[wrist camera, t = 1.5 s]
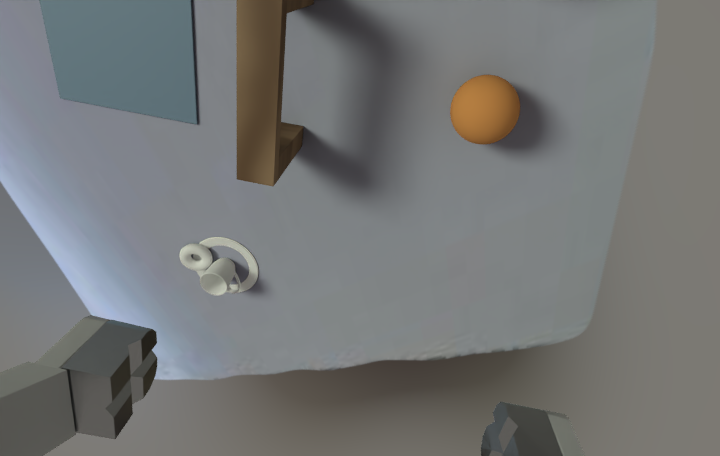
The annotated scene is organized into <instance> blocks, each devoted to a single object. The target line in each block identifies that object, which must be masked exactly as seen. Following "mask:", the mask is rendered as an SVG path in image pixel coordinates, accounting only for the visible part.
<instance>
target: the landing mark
mask: <svg viewBox="0 0 720 456" xmlns="http://www.w3.org/2000/svg"><path fill="white" fill-rule="evenodd" d="M39 1H40V5H41V10H42V15H43V20H44V24H45V29H46V34H47V39H48V43H49V48H50V53H51V57H52V62H53V67H54V72H55V76H56V81H57V86H58V90H59V95H60V98H62V99H67V100H72V101H78V102H83V103H88V104H93V105H99V106H104V107H109V108H114V109H119V110H125V111H130V112H135V113H140V114H146V115H151V116H156V117H161V118H166V119H172V120H177V121H182V122H187V123H193V124H198V120H197V100H196V79H195V59H194V38H193V18H192V0H39Z"/></svg>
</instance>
